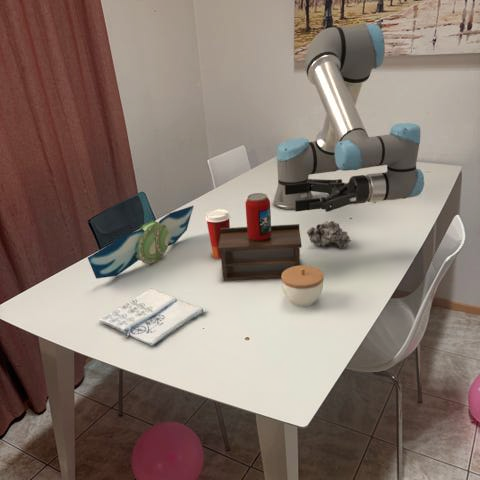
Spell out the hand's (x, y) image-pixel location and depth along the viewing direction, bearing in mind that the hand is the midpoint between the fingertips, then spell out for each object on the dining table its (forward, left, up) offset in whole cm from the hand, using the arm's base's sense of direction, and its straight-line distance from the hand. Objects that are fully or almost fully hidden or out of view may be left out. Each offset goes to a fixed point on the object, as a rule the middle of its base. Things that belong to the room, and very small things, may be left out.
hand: (289, 197), depth 126 cm
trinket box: (+20, +2, -21) cm, 29 cm away
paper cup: (-10, -22, -21) cm, 32 cm away
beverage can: (+2, -9, -11) cm, 14 cm away
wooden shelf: (+2, -9, -21) cm, 23 cm away
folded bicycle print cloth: (+26, -37, -21) cm, 50 cm away
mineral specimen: (-13, +13, -21) cm, 28 cm away
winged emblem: (-8, -44, -21) cm, 49 cm away
